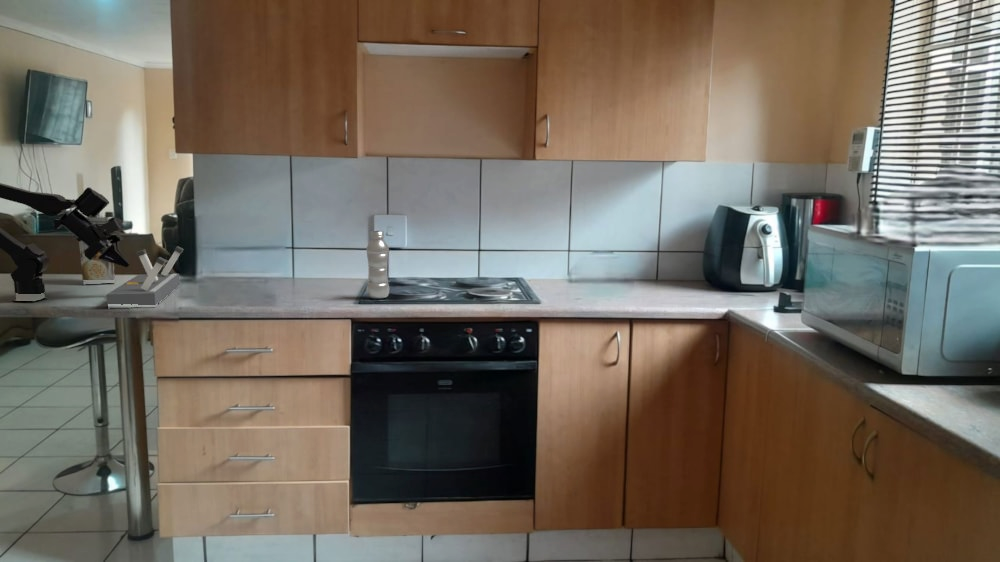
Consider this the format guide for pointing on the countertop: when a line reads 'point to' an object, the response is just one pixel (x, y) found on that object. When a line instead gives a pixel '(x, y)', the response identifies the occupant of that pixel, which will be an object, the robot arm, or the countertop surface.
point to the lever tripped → (145, 262)
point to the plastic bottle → (377, 266)
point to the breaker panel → (137, 295)
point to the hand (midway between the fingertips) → (128, 266)
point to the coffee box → (95, 266)
